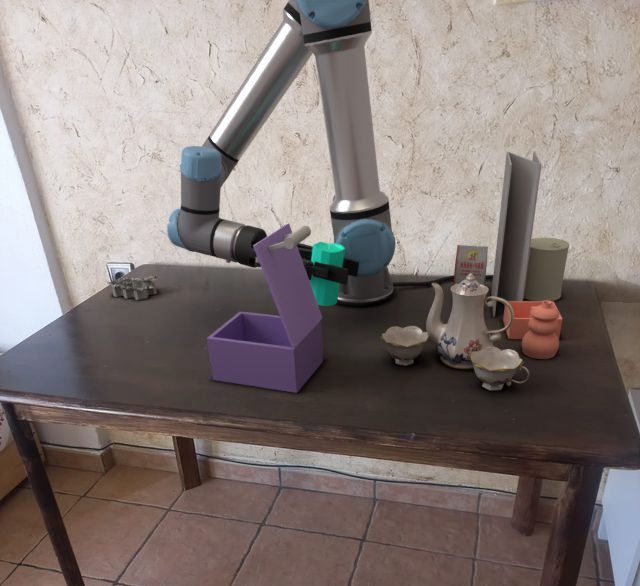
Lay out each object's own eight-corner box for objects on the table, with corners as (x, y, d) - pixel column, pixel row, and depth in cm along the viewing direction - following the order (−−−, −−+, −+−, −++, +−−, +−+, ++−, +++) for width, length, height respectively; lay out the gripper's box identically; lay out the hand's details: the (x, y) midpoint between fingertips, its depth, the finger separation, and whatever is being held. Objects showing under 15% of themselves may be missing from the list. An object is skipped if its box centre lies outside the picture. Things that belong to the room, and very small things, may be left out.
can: (539, 305, 134) (548, 250, 127) (509, 292, 141) (516, 240, 134) (570, 296, 137) (579, 242, 131) (539, 284, 144) (546, 232, 138)
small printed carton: (455, 284, 147) (458, 242, 141) (484, 286, 145) (488, 244, 139) (453, 290, 144) (456, 247, 138) (482, 292, 142) (487, 249, 136)
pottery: (503, 320, 128) (508, 274, 123) (550, 320, 127) (558, 274, 121) (514, 359, 113) (521, 309, 108) (568, 360, 112) (578, 309, 106)
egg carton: (161, 292, 152) (158, 275, 150) (140, 302, 147) (137, 285, 144) (129, 286, 157) (126, 270, 154) (107, 296, 151) (104, 279, 149)
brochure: (520, 318, 129) (541, 164, 112) (493, 317, 130) (510, 164, 113) (516, 293, 140) (535, 151, 124) (491, 292, 141) (506, 151, 125)
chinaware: (367, 374, 114) (362, 291, 104) (406, 332, 125) (404, 254, 115) (518, 410, 101) (529, 320, 91) (547, 360, 112) (559, 274, 102)
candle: (342, 300, 121) (351, 238, 114) (328, 308, 116) (338, 245, 109) (314, 291, 122) (323, 231, 116) (300, 299, 118) (308, 237, 111)
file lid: (252, 245, 94) (282, 236, 92) (286, 224, 104) (313, 215, 102) (291, 347, 102) (320, 342, 99) (319, 318, 111) (346, 313, 109)
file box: (213, 380, 112) (206, 338, 107) (244, 350, 121) (239, 311, 117) (297, 393, 106) (293, 349, 102) (323, 361, 116) (321, 320, 111)
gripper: (262, 253, 130) (364, 280, 124) (217, 274, 115) (331, 306, 109) (264, 216, 126) (371, 243, 120) (219, 234, 111) (338, 264, 105)
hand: (352, 273), depth 114 cm, fingers closed on candle, 5 cm apart
